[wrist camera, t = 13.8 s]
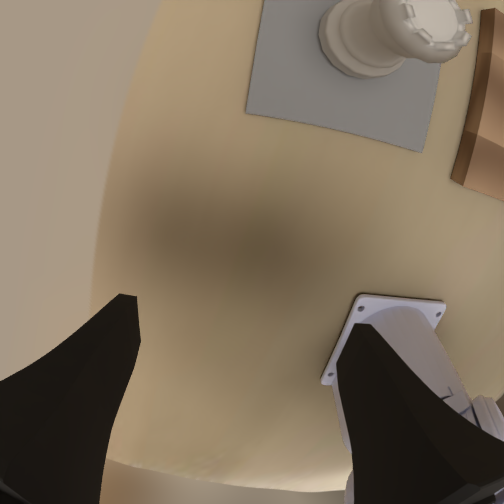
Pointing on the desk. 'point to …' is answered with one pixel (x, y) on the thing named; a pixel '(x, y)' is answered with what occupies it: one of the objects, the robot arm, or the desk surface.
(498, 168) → the pocket holder
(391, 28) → the rook chess piece
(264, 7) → the rubber pad
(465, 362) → the desk surface
